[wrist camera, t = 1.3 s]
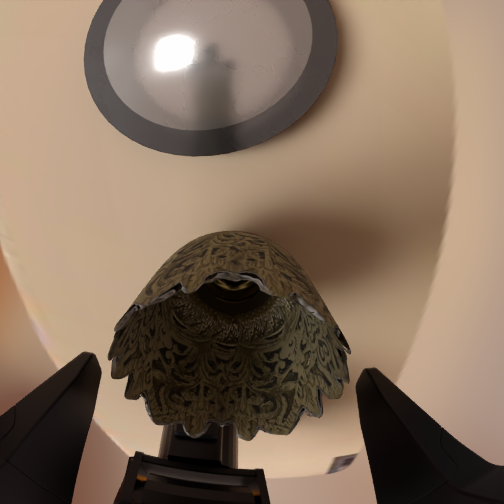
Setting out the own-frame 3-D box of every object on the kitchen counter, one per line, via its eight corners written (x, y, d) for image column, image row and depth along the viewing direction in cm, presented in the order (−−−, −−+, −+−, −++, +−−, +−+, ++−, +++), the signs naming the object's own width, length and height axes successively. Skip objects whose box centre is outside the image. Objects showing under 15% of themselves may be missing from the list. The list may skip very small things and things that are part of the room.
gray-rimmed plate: (318, 162, 13) (325, 167, 11) (91, 155, 12) (78, 159, 11) (332, -35, 8) (340, -46, 6) (114, -34, 7) (105, -43, 6)
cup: (322, 206, 14) (396, 308, 6) (288, 324, 17) (310, 444, 10) (167, 184, 13) (84, 269, 6) (163, 309, 16) (126, 426, 9)
